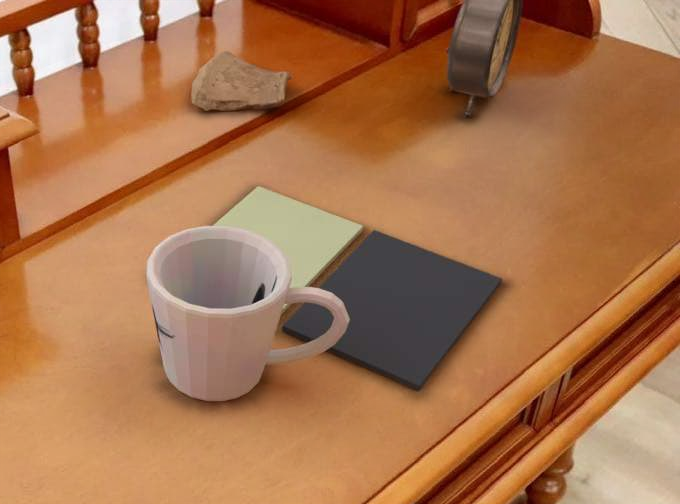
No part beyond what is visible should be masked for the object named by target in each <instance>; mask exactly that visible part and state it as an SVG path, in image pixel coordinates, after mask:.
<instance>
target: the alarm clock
mask: <svg viewBox="0 0 680 504" xmlns="http://www.w3.org/2000/svg"><path fill="white" fill-rule="evenodd" d="M523 3H524V2H523V0H463V2H462V4H461V6H460V8H459V9H458V13H457V16H456V19H455V22H454V25H453V28H452V31H451V32H452V33H451V38H450V42H449V45H448V47H447V48H446V53H447V59H446V77H447V81H448V85H449V87H450V89H449V90H448V91H449V92H451V91H452V90H453V91H454V92H456V93H459V94H463V95H468V100H467V105H466V112H464V117H465V118H471V117H472V110H473V109H474V107H475V105H476V100H477V99H479V98H484V99H488V100H489V99H492V98H494V97H495V96H496V94H497V93H498V92H499V90H500V88H501V86H502V84H503V83H504V80H505V78H506V75H507V72H508V69H509V67H510V64H511V60H512V57H513V54H514V51H515V47H516V43H517V39H518V35H519V30H520V24H521V21H522V20H521V19H522V12H523Z"/></svg>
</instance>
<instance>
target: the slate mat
mask: <svg viewBox="0 0 680 504" xmlns="http://www.w3.org/2000/svg"><path fill="white" fill-rule="evenodd" d="M502 282H503V278H502V277H499V276H497V275H495V274H491V273H489V272H485V271H484V270H482V269H481V270H480V269H478V268H475V267H474V266H470V265H467V264H465V263H462V262H459V261H457V260H454V259H452V258H449V257H447V256H443V255H442V254H440V253H439V254H438V253H436V252H433V251H430V250H428V249H426V248H422V247H420V246H418V245H415V244H412V243H409V242H407V241H404V240H402V239H399V238H397V237H394V236H391V235H388V234H386V233H383V232H380V231H379V230H376V229H373V230H372V231H371V232H370V233H369V234H368V236H367V237H365V239H364V240H363V241H361V242H360V244H359V245H358V246H356V248H355V249H354V250H353V251H352V252H351V253H350V254H349V255H348V256H347V258H345V260H343V262H341V264H340V265H339V266H337V268H336V269H335V270H334V271H333V272H332V273H331V274H330V275H329V276H328V277H327V278H326V279H325V280H324V281H323V282H322V284H320V285H319V287H318V288H319V289H322V290H325V291H328V292H331V293H333V294H334V295H335V296H336V297H338V298H339V299H340V300H342V302H343V303H344V306H345V308H346V311H347V313H348V316H349V318H350V321H349V323H348V326H347V329H346V332H345V333H344V334H343V335H342V337H341V338H340V339H339V340H338V341H337V342H336V343H335V345H333V346H332V347H330V348H329V349H327V350H326V352H328V353H331V354H334V355H336V356H337V357H341V358H343V359H345V360H347V361H349V362H352V363H354V364H356V365H358V366H361V367H363V368H365V369H367V370H370V371H372V372H374V373H376V374H378V375H381V376H383V377H385V378H388V379H390V380H392V381H395V382H397V383H399V384H402V385H404V386H406V387H408V388H409V389H413V390H415V391H417V392H419V391H420V390H421V389H422V387H424V385H425V383H426V382H427V381H428V380H429V378H430V377H431V376H432V375H433V373H434V372H435V371H436V369H437V368H438V367H439V365H440V364H441V363H442V361H443V360H444V359H445V358H446V357H447V355H448V354H449V352H450V351H451V350H452V348H453V347H454V346H455V345H456V344H457V342H458V341H459V339H460V338H461V337H462V336H463V334H464V333H465V332H466V330H467V329H468V328H469V326H470V325H471V324H472V322H473V321H474V320H475V318H476V317H477V316H478V314H479V313H480V312H481V311H482V310H483V308H484V307H485V306H486V304H487V303H488V302H489V300H490V299H491V298H492V296H493V295H494V293H495V292H496V291H497V290H498V288H499V287H500V286H501V284H502ZM333 320H334V316H333V314H332V312H331V311H330V310H329V309H327V308H326V307H324V306H321V305H318V304H315V303H310V302H303V303H302V304H301V306H300V307H298V308H297V310H295V312H294V313H292V315H291V316H290V317H289V318H288V319H287V320H286V321H285V322H284V324H282V325H281V331H282V332H283V333H286V334H288V335H291V336H292V337H294V338H296V339H299V340H302V341H304V342H306V343H308V342H311V341H313V340H315V339H317V338H319V337H320V336H322V335H323V334H325V333H326V332H327V331H328V330H329V329H330V328H331V326H332V323H333Z"/></svg>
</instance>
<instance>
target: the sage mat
mask: <svg viewBox="0 0 680 504" xmlns="http://www.w3.org/2000/svg"><path fill="white" fill-rule="evenodd" d="M212 226H230V227H235V228H240V229H245V230H249V231H252V232H254V233H256V234H259V235H261V236H263V237H266V238H268V239H269V240H270V241H272V242H273V243H274V244H275V245H277V246H278V247H279V248H281V249H282V251H283V252H284V254H285V256H286V257H287V259H288V260H289V262H290V267H291V276H292V280H291V284H290V287H289V288H293V287H311V285H312V284H313V283H314V282H315V281H316V280H317V279H318V278H319V277H320V276H321V275H322V273H324V271H325V270H327V268H328V267H330V265H331V264H333V262H334V261H335V260H336V259H337V258H338V257H339V256H340V255H341V254H342V253H343V252H344V251H345V250H346V249H347V248H348V247H349V246H350V245H351V244H352V243H353V242H354V241H355V240H356V238H357V237H359V236H360V234H361V233H362V232H363V231H364V225H363V224H359V223H357V222H354V221H352V220H349V219H348V218H347V219H346V218H344V217H341V216H338V215H335V214H333V213H331V212H328V211H325V210H323V209H320V208H318V207H315V206H312V205H309V204H307V203H305V202H301V201H299V200H296V199H293V198H291V197H288V196H286V195H283V194H281V193H278V192H275V191H273V190H270V189H268V188H266V187H265V188H264V187H262V186H260V185H258V186H256V187H255V188H254V189H253V190H252V191H251V192H249V193H248V194H247V195H246V196H245V197H244V198H243V199H241V200H240V201H239V202H238V203H237V204H235V205H234V206H233V207H232V208H231V209H230V210H229V211H228V212H227V213H225V214H224V215H223V216H222V217H221V218H219V220H217V221H216V222H215V223H214V224H213V225H212ZM292 304H293V303H291V304H284V306H283V309H282V312H281V316H282V315H283V314H284V313H285V312H286V311H287V310H288V309H289V308H290V307H291V306H292Z"/></svg>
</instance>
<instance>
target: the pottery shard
mask: <svg viewBox="0 0 680 504" xmlns="http://www.w3.org/2000/svg"><path fill="white" fill-rule="evenodd" d="M291 79H292V75H291V73H290V72H289V71H285V70H284V71H274V70H269V69H266V68H262V67H261V66H257V65H254V64H252V63H249V62H246V61H245V60H244V59H241V58H240V57H237V56H236V55H235V54H234V53H232V52H231V51H228V50H222V51H220V52H218V53H217V54H215V55H214V56H213V57H212V58H211V59H210V60H208V61H207V62H206V63H205V64H204V65H202V66H201V67H200V68H199V69H198V71H197V76H196V77H195V78H194V79H193V81H192V83H191V93H190V96H191V97H190V98H191V103H192V104H193V105H195V106H197V107H199V108H201V109H203V110H204V111H205V112H207V111H209V110H218V111H221V112H224V111H238V110H245V109H249V108H252V109H255V110H260V109H261V110H262V109H263V110H265V109H268V108H274V107H282V105H284V103H285V101H286V89H287V84H288V82H289V80H291Z"/></svg>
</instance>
